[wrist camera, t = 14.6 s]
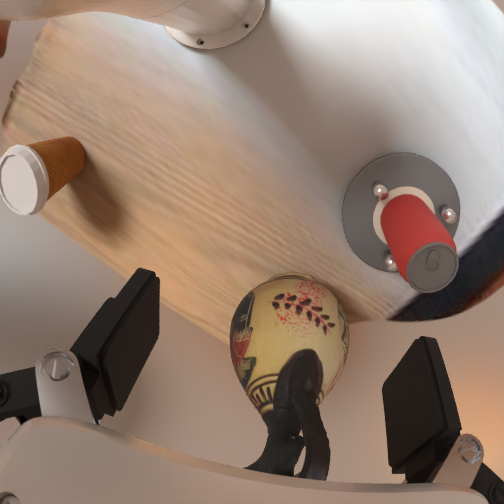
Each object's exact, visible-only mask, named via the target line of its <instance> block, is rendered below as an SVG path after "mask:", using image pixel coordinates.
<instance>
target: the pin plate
mask: <svg viewBox="0 0 504 504" xmlns="http://www.w3.org/2000/svg"><path fill="white" fill-rule="evenodd" d="M376 180H379V181H381V182H382V183H383V184H384V186H385V187H386V189H387V190H388V197H387V198H386V199H385V200H383V201H380V200H378V199H377V198H376V197H375V195H374V193H373V191H372V189H371V184H372V183H373V182H374V181H376ZM402 194H412V195H415V196H418V197H419V198H420V199H422V200H423V201H424V202H425V203H426V205H427V206H428V207H429V208H430V210H431V211H432V212H433V213H434V215H435V216H436V217H437V218H438V220H439V221H440V222H441V223H442V225H443V226H444V227H445V229H446V230H447V231H448V233H449V234H450V235H451V237H452V238H453V237H454V235H455V232H456V230H457V227H458V223H459V217H460V202H459V197H458V193H457V190H456V188H455V185H454V183H453V182H452V180H451V178H450V177H449V176H448V175H447V173H446V172H445V171H444V170H443V169H442V168H440V167H439V166H438V165H437V164H435V163H434V162H432V161H431V160H429V159H427V158H425V157H423V156H420V155H417V154H411V153H395V154H390V155H386V156H383V157H381V158H378V159H376V160H374V161H373V162H371V163H369V164H368V165H367V166H366V167H364V168H363V169H362V170H361V171H360V172H359V173H358V174H357V175H356V177H355V178H354V179H353V181H352V182H351V184H350V186H349V188H348V190H347V192H346V195H345V198H344V202H343V208H342V221H343V227H344V232H345V235H346V239H347V241H348V243H349V245H350V247H351V248H352V250H353V251H354V253H355V254H356V255H357V256H358V257H359V258H360V259H361V260H362V261H364V262H365V263H367V264H368V265H370V266H372V267H374V268H376V269H379V270H382V271H388V272H399V271H398V269H396V270H395V271H389V270H388V269H387V267H386V264H385V261H384V258H383V254H384V253H385V252H386V251H388V250H390V248H389V246H388V243H387V241H386V239H385V236H384V234H383V231H382V228H381V225H380V216H381V213H382V210H383V208H384V207H385V205H386V204H387V203H388V202H389V201H390V200H391V199H393V198H394V197H396V196H399V195H402ZM442 204H447V205H448V206H449V207H450V208H451V209H452V210H453V211H454V212H455V213H456V215H457V219H456V221H455V222H454V223H452V224H449V223H447V222H446V221H445V219H444V218H443V217H442V216H441V214H440V213H439V207H440V206H441V205H442Z"/></svg>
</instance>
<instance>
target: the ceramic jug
mask: <svg viewBox="0 0 504 504" xmlns="http://www.w3.org/2000/svg"><path fill="white" fill-rule="evenodd" d="M348 345H349V327H348V321H347V317H346V314H345V311H344V310H343V307H342V306H341V304H340V302H339V300H338V299H337V298H336V297H335V296H334V295H333V294H332V293H331V291H330V290H329V289H328V288H327V287H325V286H324V285H322V284H320V283H318V282H316V281H315V279H314V278H313V277H311V276H310V275H305V274H301V273H297V272H289V273H284V274H280V275H276V276H274V277H272V278H271V279H269V280H268V281H267V282H264V283H262V284H260V285H259V286H257V287H256V288H254V289H253V290H252V291H250V292H249V293H248V294H247V295H246V296H245V297H244V298H243V300H242V301H241V302H240V304H239V306H238V307H237V309H236V311H235V314H234V316H233V319H232V322H231V329H230V350H231V358H232V362H233V366H234V369H235V372H236V374H237V377H238V379H239V381H240V383H241V384H242V386H243V388H244V390H245V392H246V394H247V396H248V398H249V399H250V401H251V402H252V403H253V405H254V406H255V408H256V409H257V410H258V412H259V413H260V414H261V416H262V419H263V421H264V422H265V424H266V425H267V427H268V434H269V436H268V438H267V442H266V446H265V449H264V451H263V454H262V455H261V456H260V458H259V459H258V460H257V461H256V462H254V463H253V464H251V465H250V466H248V467H245V468H243V469H248V470H253V471H258V472H263V473H269V474H275V475H281V476H288V477H295V478H303V479H312V480H322V481H326V478H327V475H328V471H329V464H330V448H329V440H328V438H327V433H326V431H325V429H324V426H323V422H322V420H321V417H320V411H319V407H318V406H319V405H320V403H321V402H322V401H323V399H324V398H325V397H326V396H327V395H328V393H329V392H330V391H331V390H332V388H333V387H334V385H335V383H336V381H337V379H338V378H339V377H340V375H341V372H342V369H343V367H344V365H345V362H346V358H347V354H348ZM301 429H302V433H303V437H302V436H299V433H300V431H301ZM304 446H305V447H306V455H305V462H304V465H303V468H302V471H301V472H300V473H298V474H296V475H295V476H294V467H295V464H296V463H297V462H298V459H299V456H300V454H301V451H302V449H303V448H304Z"/></svg>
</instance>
